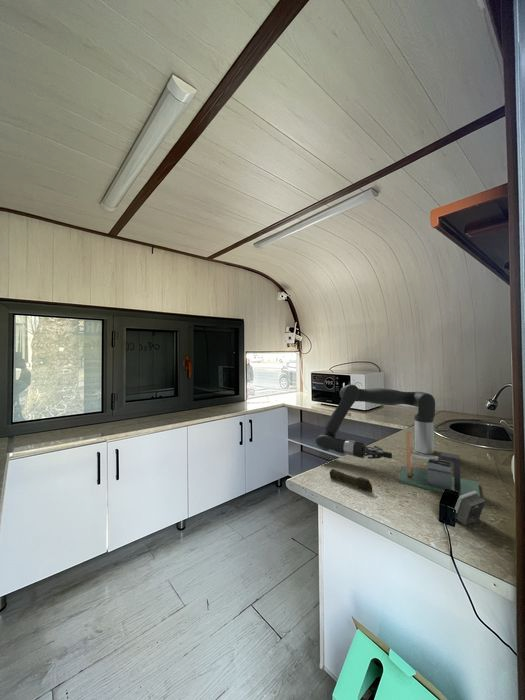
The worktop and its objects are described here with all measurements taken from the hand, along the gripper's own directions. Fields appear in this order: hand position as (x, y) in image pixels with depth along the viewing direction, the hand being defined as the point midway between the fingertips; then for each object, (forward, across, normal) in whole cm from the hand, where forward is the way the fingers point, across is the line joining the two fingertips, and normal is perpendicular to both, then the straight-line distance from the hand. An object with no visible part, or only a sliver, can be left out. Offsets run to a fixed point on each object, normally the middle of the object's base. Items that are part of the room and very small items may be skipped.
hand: (391, 455), depth 124 cm
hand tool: (-12, -22, +8) cm, 26 cm away
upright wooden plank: (+12, 0, +6) cm, 14 cm away
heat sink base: (+18, 0, +8) cm, 19 cm away
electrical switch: (+28, -24, +8) cm, 38 cm away
